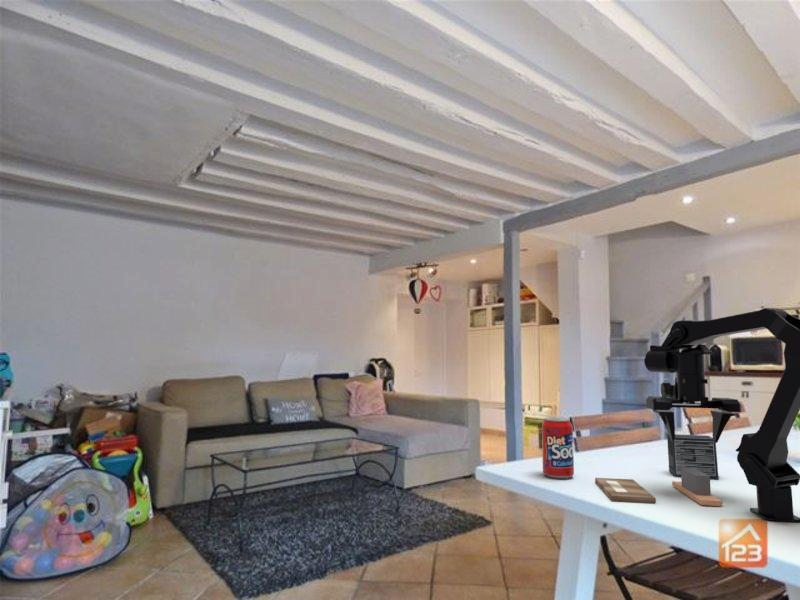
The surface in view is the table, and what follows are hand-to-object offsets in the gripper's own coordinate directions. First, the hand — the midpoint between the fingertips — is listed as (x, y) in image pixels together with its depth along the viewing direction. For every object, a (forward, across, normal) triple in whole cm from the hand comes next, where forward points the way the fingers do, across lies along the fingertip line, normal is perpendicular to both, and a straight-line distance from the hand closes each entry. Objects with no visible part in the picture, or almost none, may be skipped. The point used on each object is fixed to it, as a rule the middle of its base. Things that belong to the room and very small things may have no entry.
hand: (693, 441), depth 115 cm
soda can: (+12, +29, -13) cm, 34 cm away
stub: (+12, 0, +1) cm, 12 cm away
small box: (+12, -7, -20) cm, 25 cm away
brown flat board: (+12, +16, 0) cm, 20 cm away
